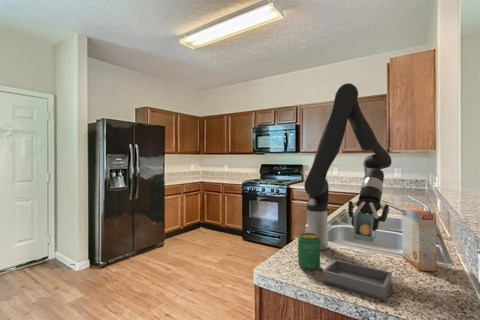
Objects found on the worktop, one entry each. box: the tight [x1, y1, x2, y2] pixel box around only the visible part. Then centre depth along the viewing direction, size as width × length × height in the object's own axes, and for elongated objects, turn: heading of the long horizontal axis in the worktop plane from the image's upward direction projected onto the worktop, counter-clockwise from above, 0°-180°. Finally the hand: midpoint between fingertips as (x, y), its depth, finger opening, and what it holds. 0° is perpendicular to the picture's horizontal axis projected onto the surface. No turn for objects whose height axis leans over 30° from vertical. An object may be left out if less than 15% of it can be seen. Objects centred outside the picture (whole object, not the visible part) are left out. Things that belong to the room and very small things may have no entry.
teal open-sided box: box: [353, 213, 377, 244], centre depth 91 cm, size 6×6×8 cm
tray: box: [322, 259, 393, 302], centre depth 82 cm, size 18×12×4 cm, turn 51°
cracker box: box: [401, 206, 437, 273], centre depth 97 cm, size 14×6×21 cm, turn 168°
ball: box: [359, 224, 371, 236], centre depth 90 cm, size 4×4×4 cm
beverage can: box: [297, 232, 321, 272], centre depth 96 cm, size 8×8×12 cm
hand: (363, 227), depth 90 cm, fingers closed on teal open-sided box, 6 cm apart
